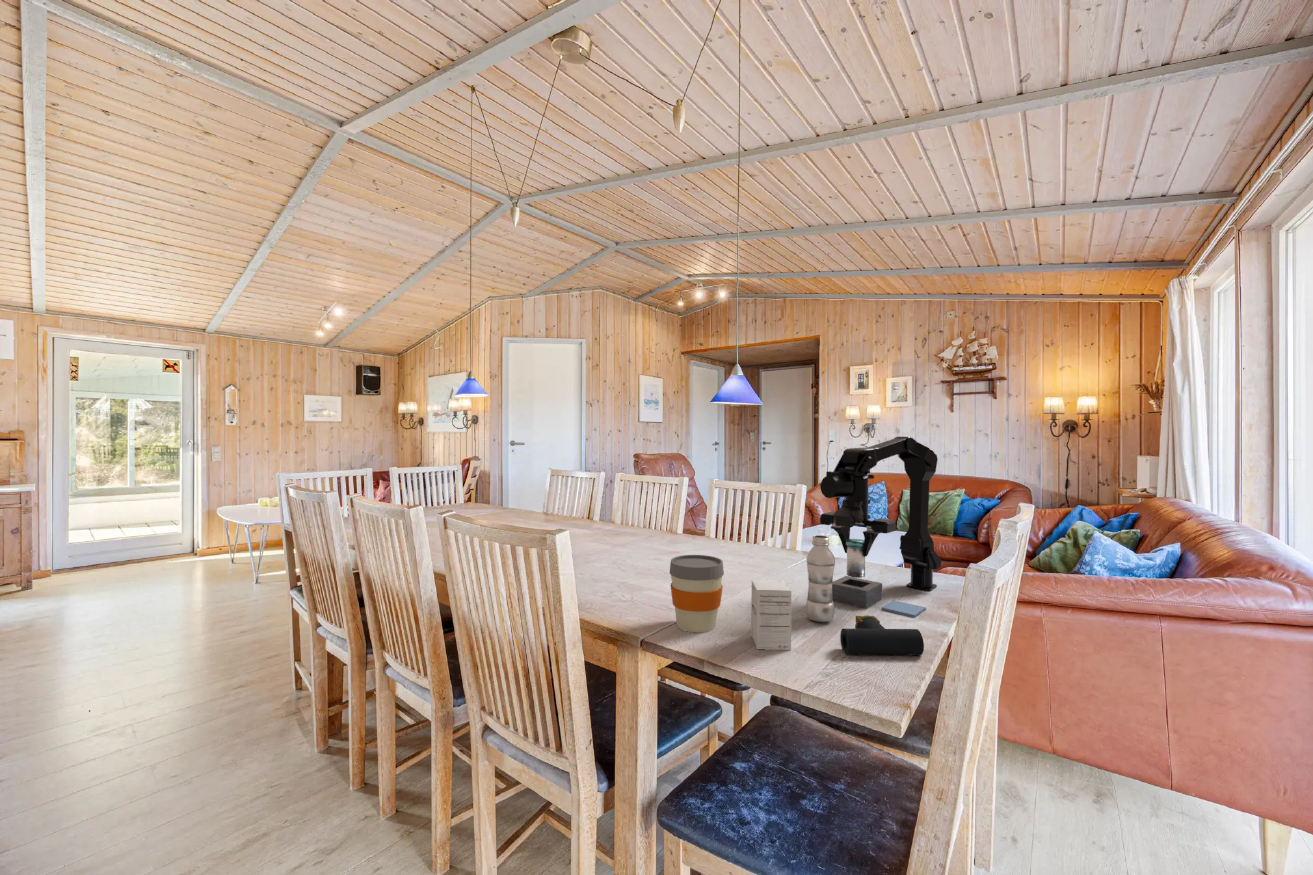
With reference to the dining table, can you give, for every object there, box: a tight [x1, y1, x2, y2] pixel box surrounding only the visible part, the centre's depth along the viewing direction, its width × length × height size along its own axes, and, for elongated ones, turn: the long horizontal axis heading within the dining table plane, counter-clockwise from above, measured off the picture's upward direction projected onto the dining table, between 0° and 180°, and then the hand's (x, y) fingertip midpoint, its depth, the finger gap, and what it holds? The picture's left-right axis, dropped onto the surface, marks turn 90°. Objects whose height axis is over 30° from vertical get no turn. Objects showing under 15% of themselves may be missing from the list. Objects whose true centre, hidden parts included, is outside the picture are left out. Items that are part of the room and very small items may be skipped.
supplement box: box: [750, 579, 792, 651], centre depth 115 cm, size 7×7×13 cm
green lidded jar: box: [846, 538, 866, 579], centre depth 144 cm, size 5×5×9 cm
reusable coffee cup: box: [669, 554, 725, 633], centre depth 125 cm, size 12×13×15 cm
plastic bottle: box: [804, 534, 836, 623], centre depth 128 cm, size 6×7×20 cm
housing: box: [832, 575, 883, 610], centre depth 144 cm, size 10×10×4 cm
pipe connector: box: [839, 614, 925, 656], centre depth 114 cm, size 12×5×15 cm
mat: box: [881, 600, 927, 619], centre depth 136 cm, size 8×8×1 cm
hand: (855, 554), depth 144 cm, fingers closed on green lidded jar, 5 cm apart
